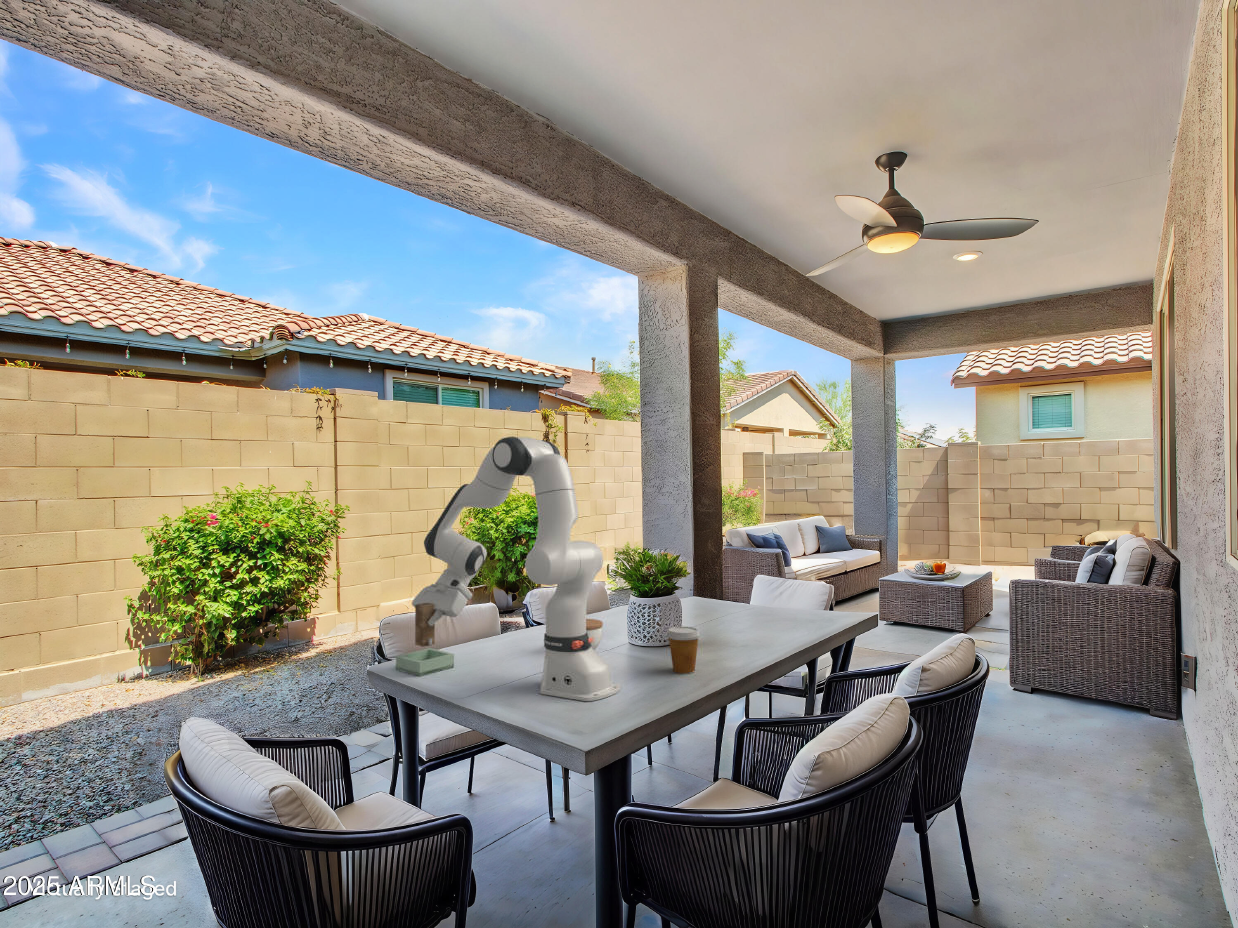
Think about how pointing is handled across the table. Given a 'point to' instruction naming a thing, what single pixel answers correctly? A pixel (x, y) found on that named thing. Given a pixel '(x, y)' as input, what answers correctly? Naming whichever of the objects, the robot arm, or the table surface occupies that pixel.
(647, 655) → the table surface
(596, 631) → the lidded bowl
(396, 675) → the table surface
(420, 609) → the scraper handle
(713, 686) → the table surface
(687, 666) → the disposable coffee cup
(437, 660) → the tray
